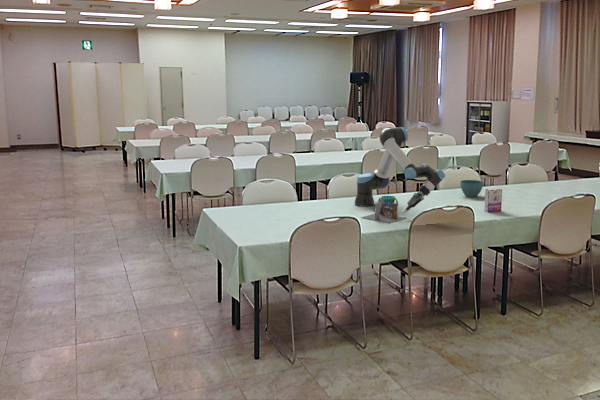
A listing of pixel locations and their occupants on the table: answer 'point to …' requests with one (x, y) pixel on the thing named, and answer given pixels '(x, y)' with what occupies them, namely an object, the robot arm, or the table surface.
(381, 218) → the mat
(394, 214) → the gate
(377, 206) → the post
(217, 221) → the table surface
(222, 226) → the table surface
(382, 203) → the hinge post
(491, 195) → the candy bar box
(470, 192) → the teal bowl
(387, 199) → the snack cup
